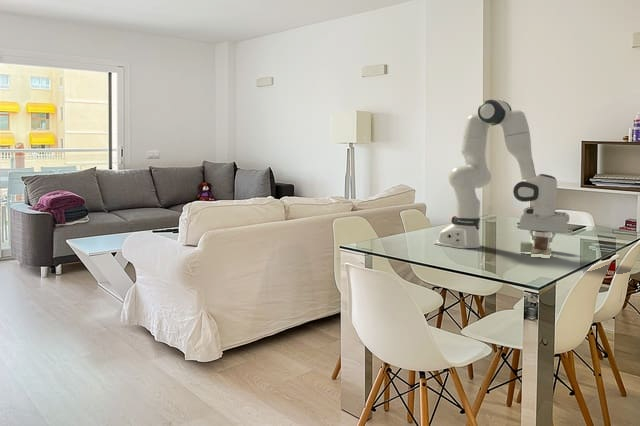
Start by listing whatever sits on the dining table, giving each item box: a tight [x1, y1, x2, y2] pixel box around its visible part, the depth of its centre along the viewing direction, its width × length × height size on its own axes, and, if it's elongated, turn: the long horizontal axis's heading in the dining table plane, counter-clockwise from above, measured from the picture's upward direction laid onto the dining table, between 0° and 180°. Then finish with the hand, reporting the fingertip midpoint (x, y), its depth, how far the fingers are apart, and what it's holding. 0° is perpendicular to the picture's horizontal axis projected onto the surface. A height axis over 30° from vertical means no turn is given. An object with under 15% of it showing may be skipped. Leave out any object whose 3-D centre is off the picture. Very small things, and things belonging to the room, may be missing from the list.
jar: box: [529, 230, 552, 248], centre depth 264 cm, size 9×8×12 cm
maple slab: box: [531, 246, 553, 255], centre depth 250 cm, size 8×8×4 cm
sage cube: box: [518, 241, 533, 252], centre depth 256 cm, size 5×5×5 cm
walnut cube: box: [535, 236, 548, 250], centre depth 249 cm, size 5×5×5 cm
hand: (541, 241), depth 249 cm, fingers open, 6 cm apart
